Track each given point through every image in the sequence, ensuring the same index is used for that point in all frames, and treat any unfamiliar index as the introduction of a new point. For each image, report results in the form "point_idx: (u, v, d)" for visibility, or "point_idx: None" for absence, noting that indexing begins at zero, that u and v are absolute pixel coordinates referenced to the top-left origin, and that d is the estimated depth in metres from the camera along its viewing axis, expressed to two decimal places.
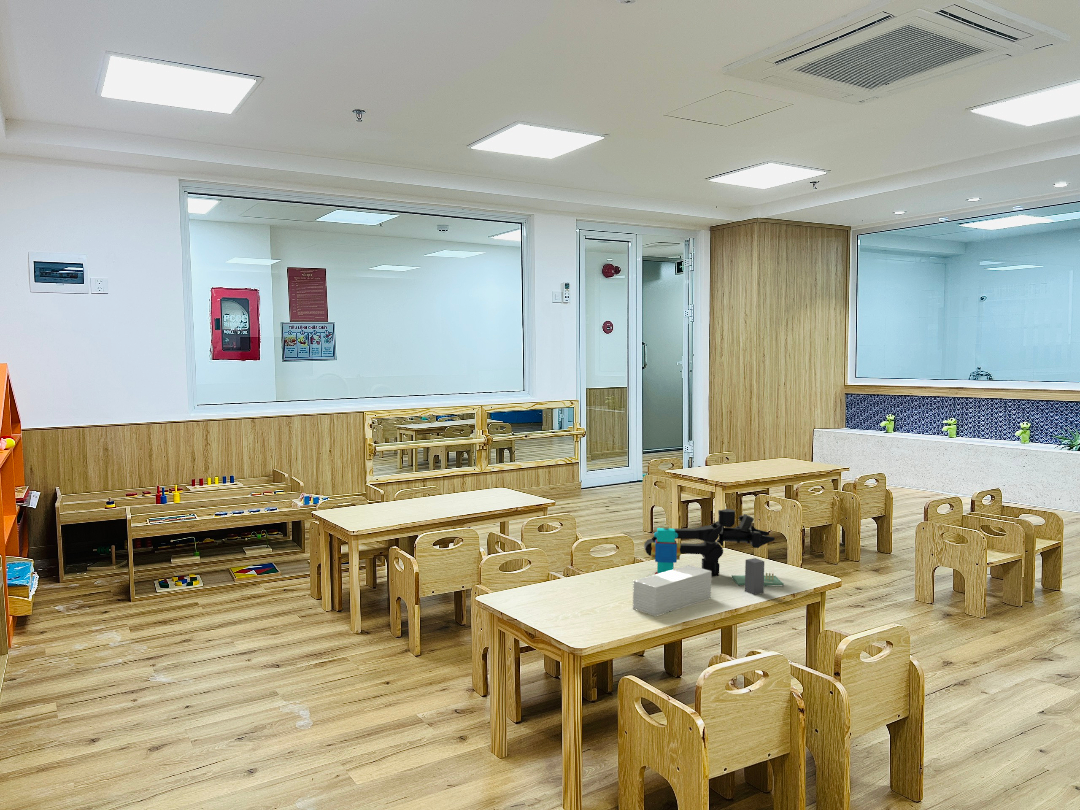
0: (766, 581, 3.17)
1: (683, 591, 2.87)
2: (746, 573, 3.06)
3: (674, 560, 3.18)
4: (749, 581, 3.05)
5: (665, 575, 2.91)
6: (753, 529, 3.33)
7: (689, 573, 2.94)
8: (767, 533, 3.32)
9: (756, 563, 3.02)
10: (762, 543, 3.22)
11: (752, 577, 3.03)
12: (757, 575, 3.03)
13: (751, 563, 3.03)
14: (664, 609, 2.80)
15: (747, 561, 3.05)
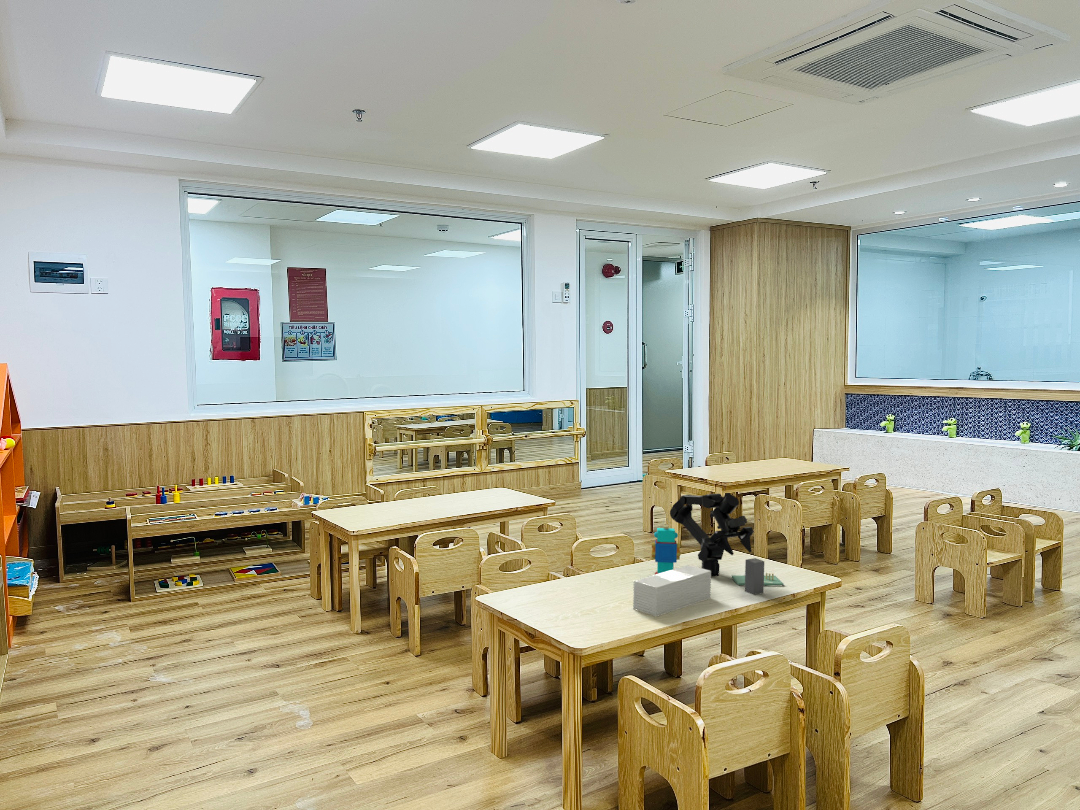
0: (766, 581, 3.17)
1: (683, 591, 2.87)
2: (746, 573, 3.06)
3: (674, 560, 3.18)
4: (749, 581, 3.05)
5: (665, 575, 2.91)
6: (745, 536, 3.17)
7: (689, 573, 2.94)
8: (749, 550, 3.14)
9: (756, 563, 3.02)
10: (721, 546, 3.13)
11: (752, 577, 3.03)
12: (757, 575, 3.03)
13: (751, 563, 3.03)
14: (665, 609, 2.80)
15: (747, 561, 3.05)
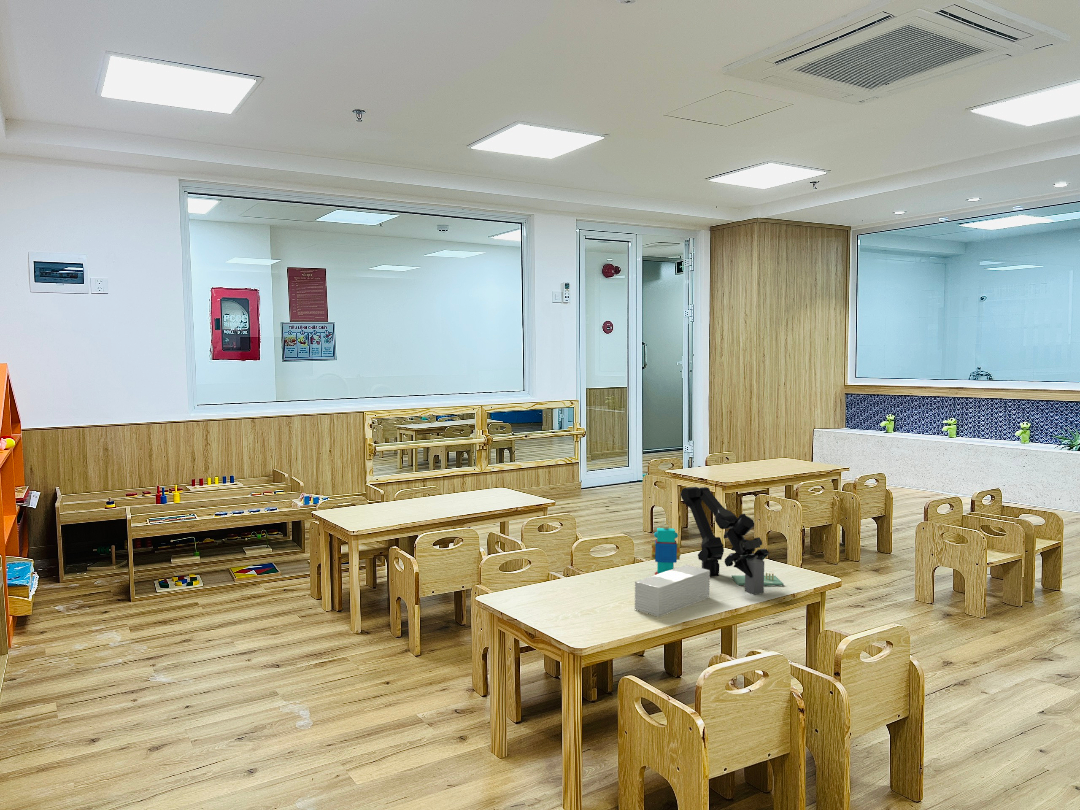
0: (766, 581, 3.17)
1: (684, 591, 2.87)
2: None
3: (674, 560, 3.18)
4: (749, 581, 3.05)
5: (665, 575, 2.91)
6: None
7: (689, 573, 2.94)
8: None
9: (756, 563, 3.02)
10: (739, 568, 3.06)
11: (752, 577, 3.03)
12: (757, 575, 3.03)
13: (751, 563, 3.03)
14: (666, 609, 2.80)
15: (747, 561, 3.05)
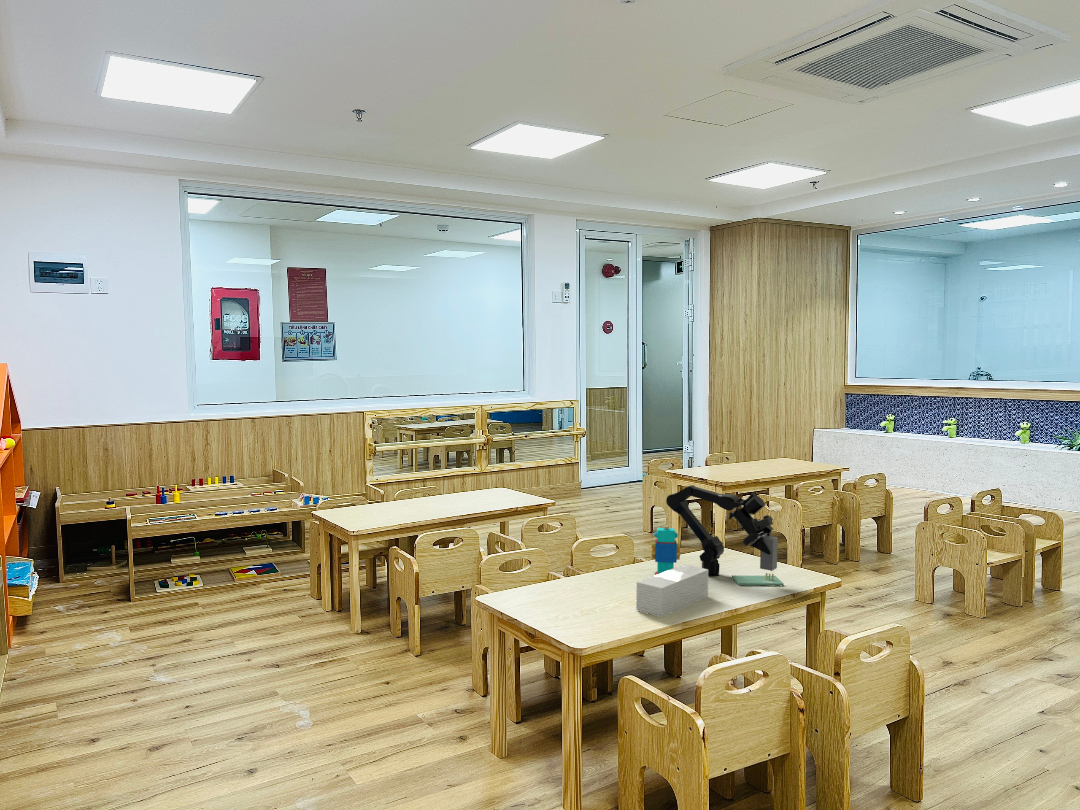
0: (766, 581, 3.17)
1: (684, 591, 2.87)
2: None
3: (674, 560, 3.18)
4: (765, 558, 3.12)
5: (665, 575, 2.91)
6: None
7: (688, 572, 2.95)
8: None
9: (774, 540, 3.11)
10: (756, 546, 3.12)
11: (770, 554, 3.11)
12: (774, 552, 3.12)
13: (769, 540, 3.11)
14: (668, 609, 2.80)
15: (763, 539, 3.12)
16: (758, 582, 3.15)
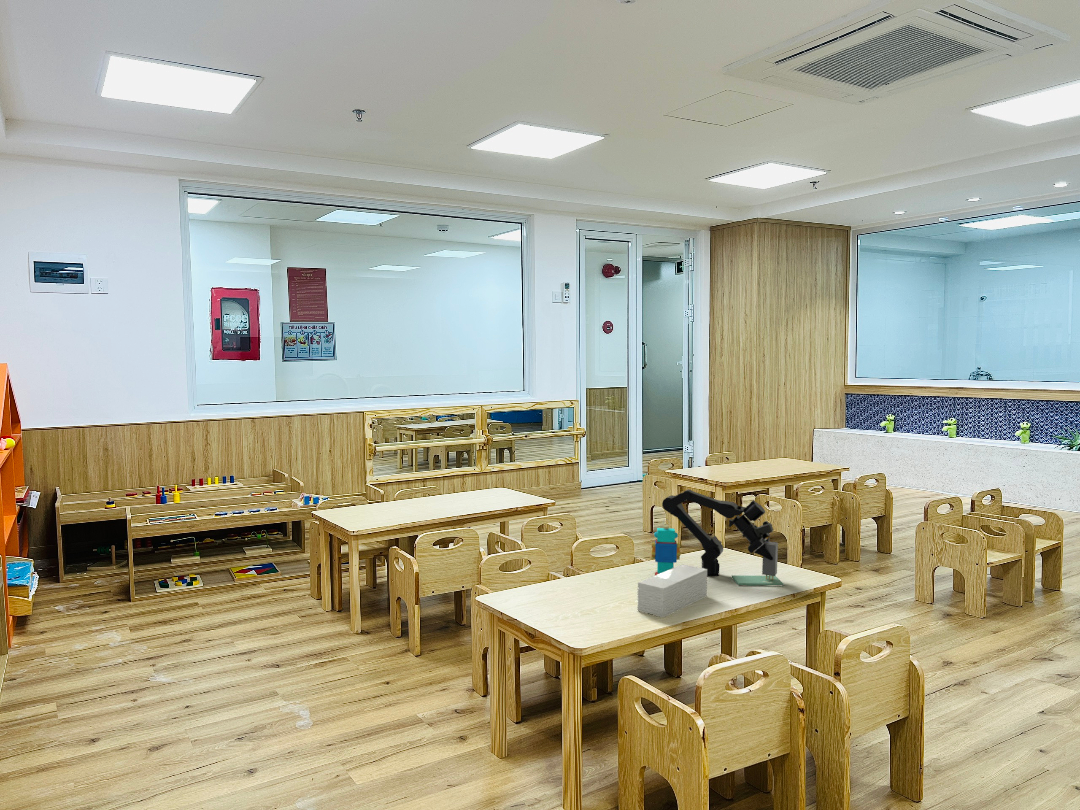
0: (766, 581, 3.17)
1: (685, 590, 2.88)
2: (764, 557, 3.17)
3: (674, 560, 3.18)
4: (768, 564, 3.17)
5: (665, 575, 2.91)
6: None
7: (688, 572, 2.95)
8: None
9: (776, 545, 3.16)
10: (759, 553, 3.16)
11: (773, 559, 3.16)
12: (776, 557, 3.17)
13: (771, 546, 3.16)
14: (670, 610, 2.80)
15: None
16: (758, 582, 3.15)
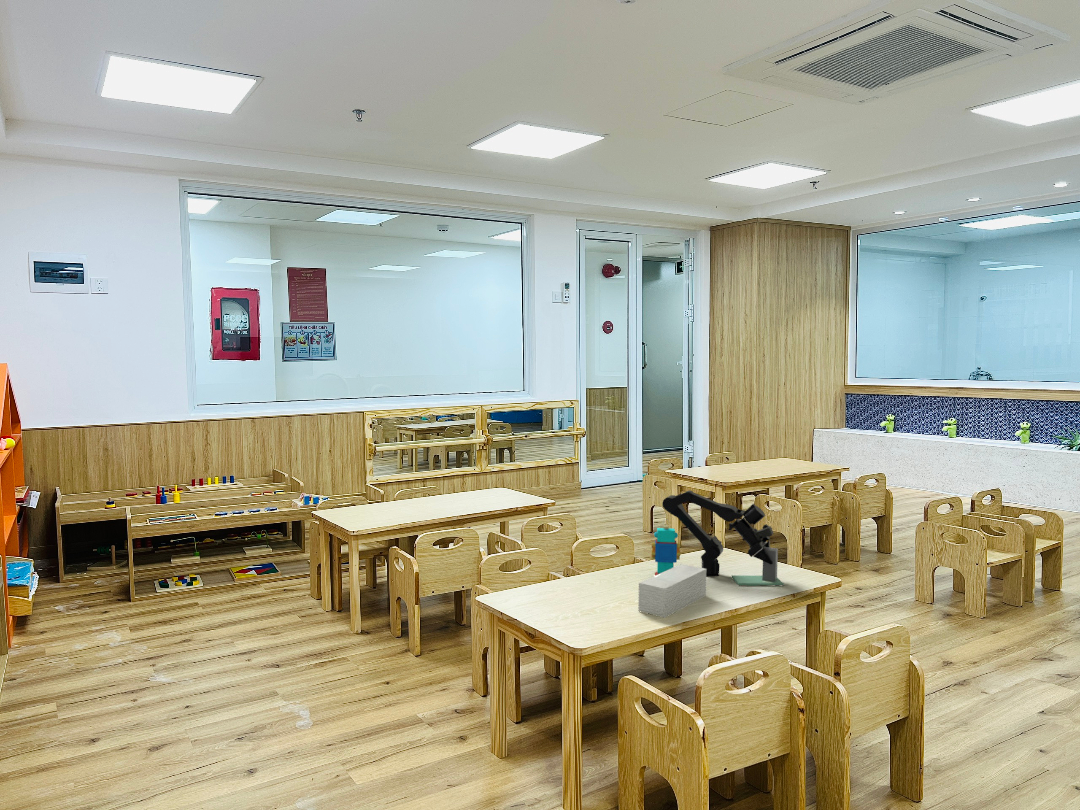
0: (766, 581, 3.17)
1: (685, 590, 2.88)
2: (764, 563, 3.17)
3: (674, 560, 3.18)
4: (768, 570, 3.17)
5: (665, 575, 2.91)
6: (766, 544, 3.23)
7: (687, 572, 2.95)
8: None
9: (776, 551, 3.16)
10: (758, 557, 3.15)
11: (773, 565, 3.16)
12: (776, 563, 3.17)
13: (771, 552, 3.16)
14: (671, 610, 2.80)
15: None
16: (758, 582, 3.15)
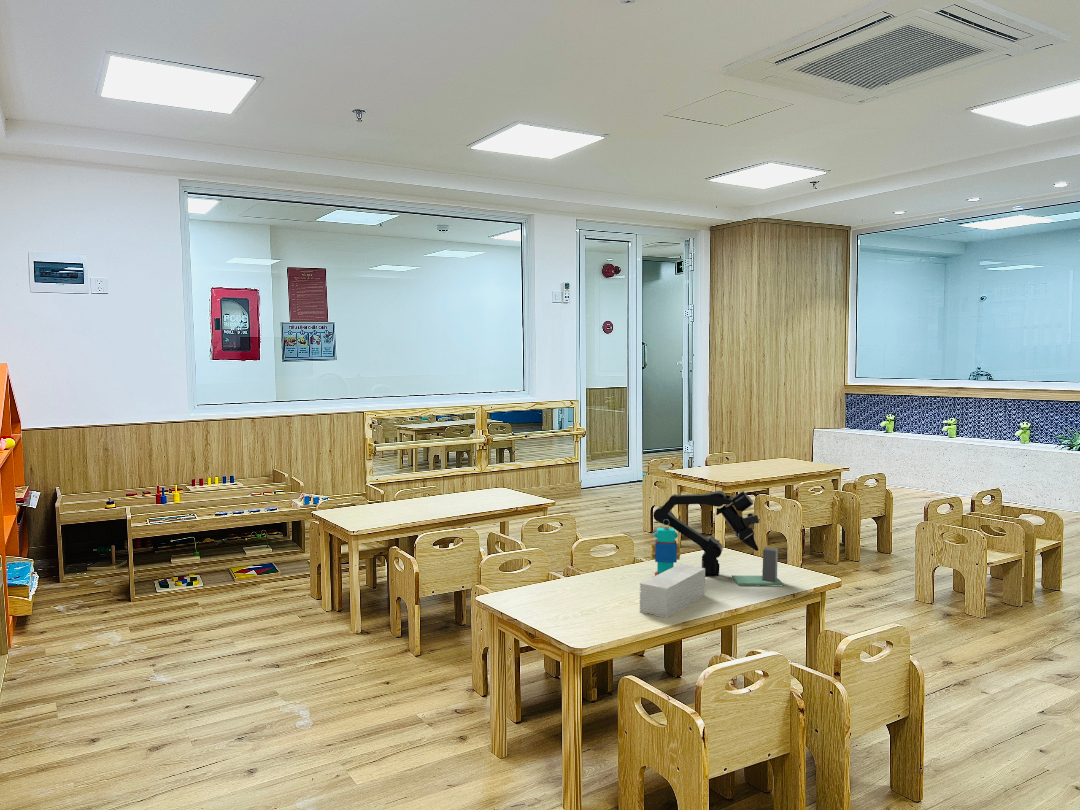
0: (766, 581, 3.17)
1: (686, 590, 2.88)
2: (764, 563, 3.17)
3: (674, 560, 3.18)
4: (768, 570, 3.17)
5: (665, 575, 2.91)
6: None
7: (687, 572, 2.95)
8: None
9: (776, 551, 3.16)
10: (746, 542, 3.17)
11: (773, 565, 3.16)
12: (776, 563, 3.17)
13: (771, 552, 3.16)
14: (672, 610, 2.80)
15: (765, 551, 3.17)
16: (758, 582, 3.15)
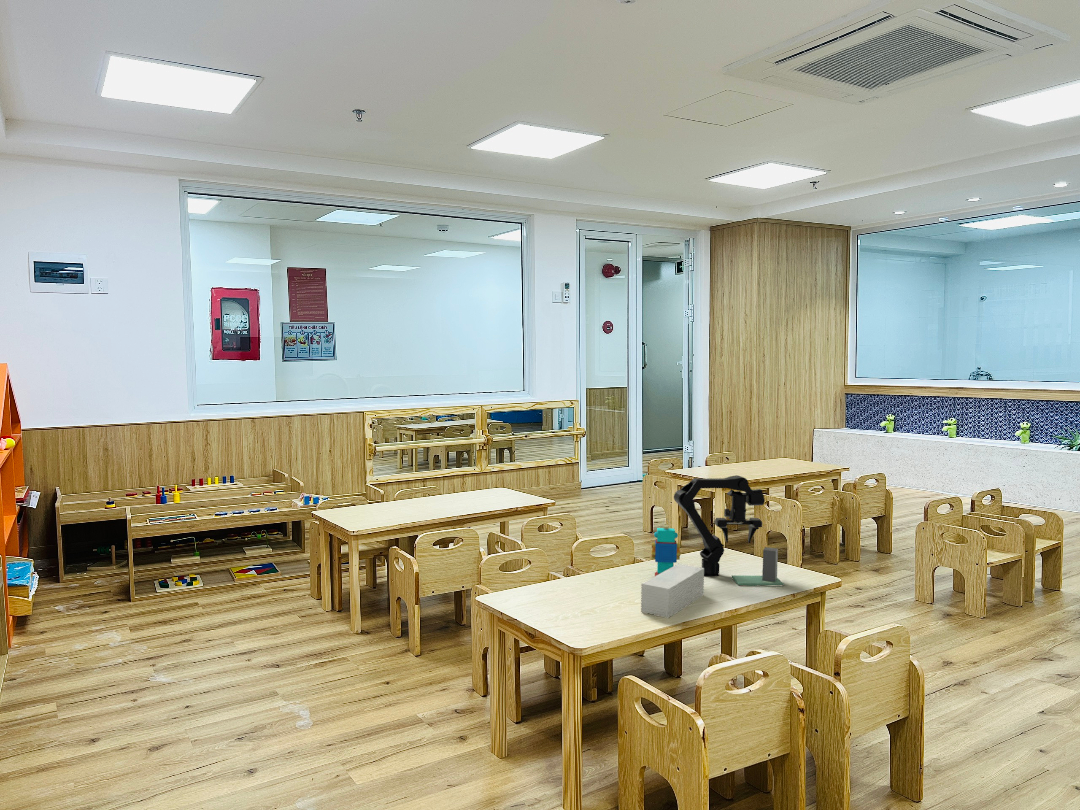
0: (766, 581, 3.17)
1: (686, 590, 2.88)
2: (764, 563, 3.17)
3: (674, 560, 3.18)
4: (768, 570, 3.17)
5: (666, 575, 2.91)
6: None
7: (686, 572, 2.95)
8: None
9: (776, 551, 3.16)
10: None
11: (773, 565, 3.16)
12: (776, 563, 3.17)
13: (771, 552, 3.16)
14: (674, 610, 2.80)
15: (765, 551, 3.17)
16: (758, 582, 3.15)
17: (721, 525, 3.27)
